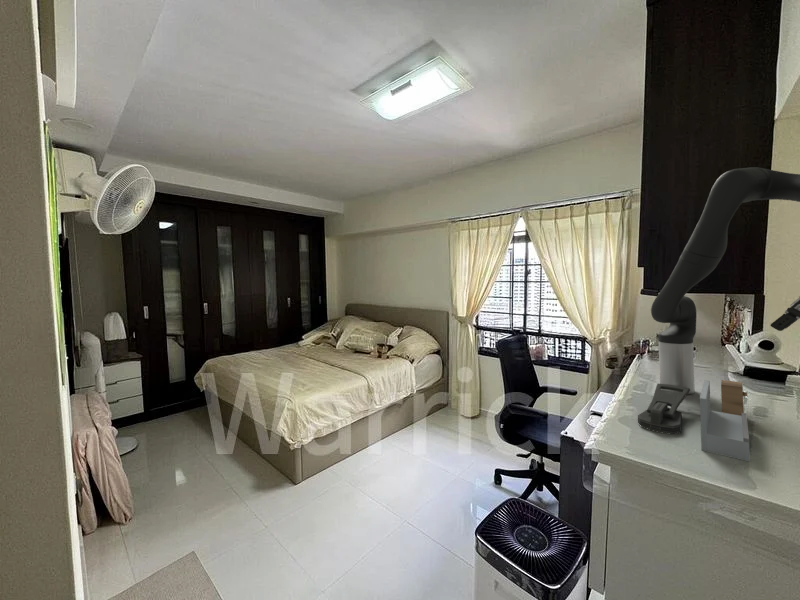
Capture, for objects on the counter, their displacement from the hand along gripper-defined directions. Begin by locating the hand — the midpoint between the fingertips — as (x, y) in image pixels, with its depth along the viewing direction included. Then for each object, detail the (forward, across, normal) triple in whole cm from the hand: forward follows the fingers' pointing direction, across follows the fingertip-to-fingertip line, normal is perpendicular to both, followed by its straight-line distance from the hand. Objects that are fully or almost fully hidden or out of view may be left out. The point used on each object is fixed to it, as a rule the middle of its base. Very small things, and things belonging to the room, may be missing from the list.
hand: (777, 327), depth 76 cm
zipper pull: (+34, +4, +1) cm, 34 cm away
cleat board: (+26, +11, +11) cm, 30 cm away
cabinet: (+26, -6, +10) cm, 28 cm away
